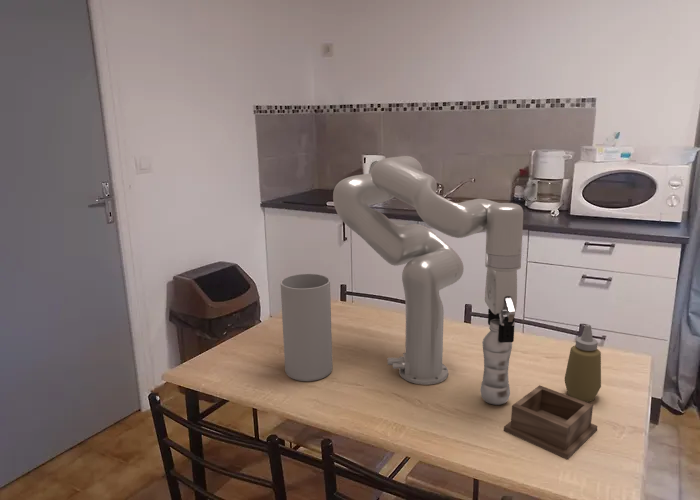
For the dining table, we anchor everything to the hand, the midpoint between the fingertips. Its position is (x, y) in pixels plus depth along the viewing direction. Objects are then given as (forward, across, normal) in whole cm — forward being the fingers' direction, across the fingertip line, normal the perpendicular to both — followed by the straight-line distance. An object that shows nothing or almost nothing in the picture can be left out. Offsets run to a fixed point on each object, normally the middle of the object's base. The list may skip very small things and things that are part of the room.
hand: (500, 333), depth 124 cm
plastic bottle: (+18, 0, -1) cm, 18 cm away
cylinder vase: (+17, -16, -46) cm, 51 cm away
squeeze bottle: (+18, -3, +20) cm, 27 cm away
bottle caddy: (+18, +11, +8) cm, 23 cm away
